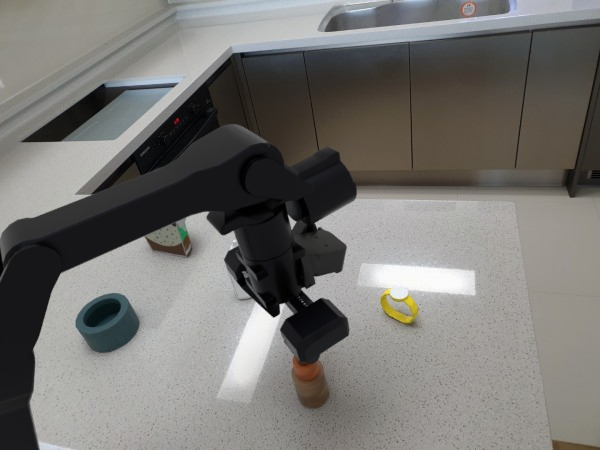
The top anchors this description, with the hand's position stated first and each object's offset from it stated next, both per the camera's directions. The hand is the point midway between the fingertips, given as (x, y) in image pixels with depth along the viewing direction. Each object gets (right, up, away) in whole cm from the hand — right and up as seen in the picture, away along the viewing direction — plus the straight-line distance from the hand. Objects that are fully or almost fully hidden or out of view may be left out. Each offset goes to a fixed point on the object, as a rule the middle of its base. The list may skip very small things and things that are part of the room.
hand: (294, 337), depth 57 cm
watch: (+17, -1, +16) cm, 23 cm away
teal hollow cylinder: (-32, -5, +24) cm, 40 cm away
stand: (+3, -10, +7) cm, 13 cm away
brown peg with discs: (+2, -6, +4) cm, 7 cm away
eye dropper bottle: (-8, +2, +26) cm, 27 cm away
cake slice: (-25, +10, +41) cm, 49 cm away
